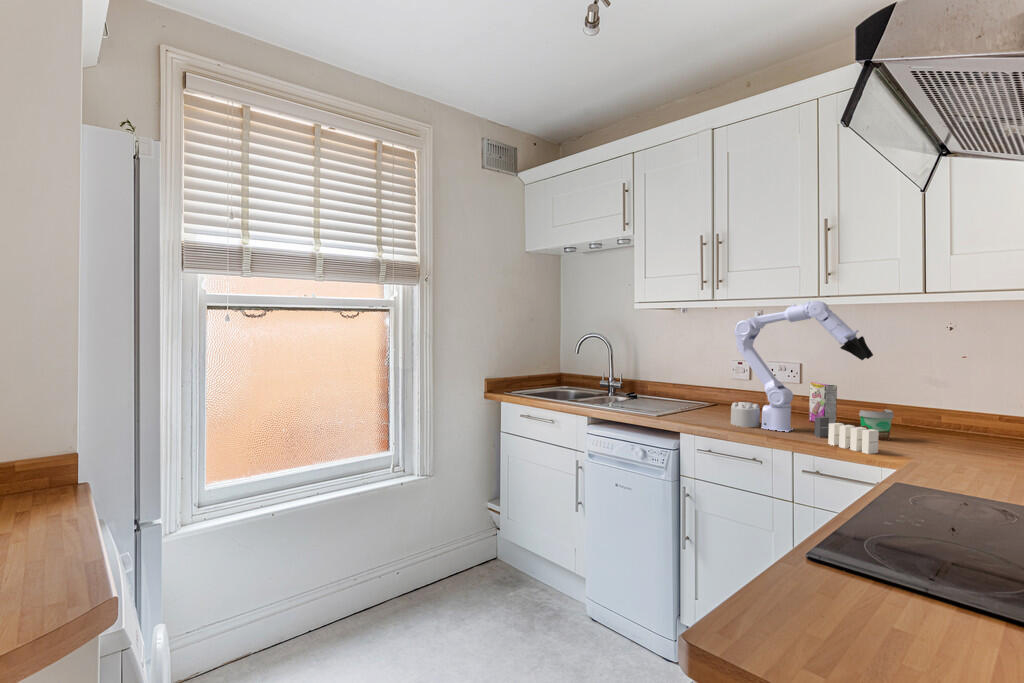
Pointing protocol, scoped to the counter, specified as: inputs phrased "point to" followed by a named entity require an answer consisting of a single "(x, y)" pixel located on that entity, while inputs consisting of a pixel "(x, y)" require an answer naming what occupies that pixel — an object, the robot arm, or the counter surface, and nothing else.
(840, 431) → the domino
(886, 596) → the counter surface
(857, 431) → the domino
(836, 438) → the domino
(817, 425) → the black domino
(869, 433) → the domino
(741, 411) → the lumpy-topped squat cylinder
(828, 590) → the counter surface
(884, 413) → the food container
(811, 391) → the candy bar box
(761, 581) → the counter surface
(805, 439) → the counter surface
